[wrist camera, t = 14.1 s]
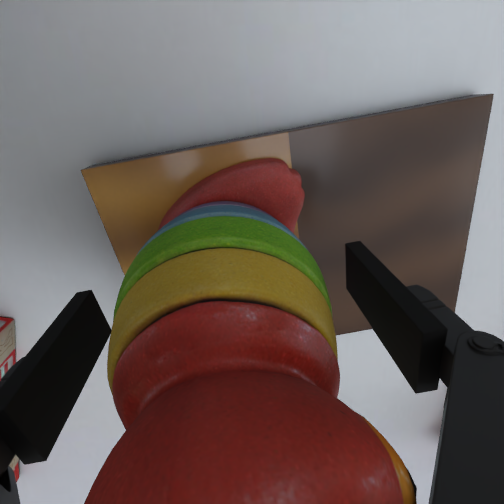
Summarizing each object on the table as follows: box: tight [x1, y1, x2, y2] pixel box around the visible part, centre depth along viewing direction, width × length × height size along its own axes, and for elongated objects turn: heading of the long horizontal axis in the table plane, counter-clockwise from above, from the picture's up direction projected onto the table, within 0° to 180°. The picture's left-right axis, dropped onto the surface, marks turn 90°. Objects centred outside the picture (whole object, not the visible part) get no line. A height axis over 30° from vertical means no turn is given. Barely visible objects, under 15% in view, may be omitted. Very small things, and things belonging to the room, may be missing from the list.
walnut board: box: [81, 94, 494, 335], centre depth 21 cm, size 16×24×2 cm, turn 100°
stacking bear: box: [84, 158, 417, 504], centre depth 12 cm, size 11×10×18 cm
